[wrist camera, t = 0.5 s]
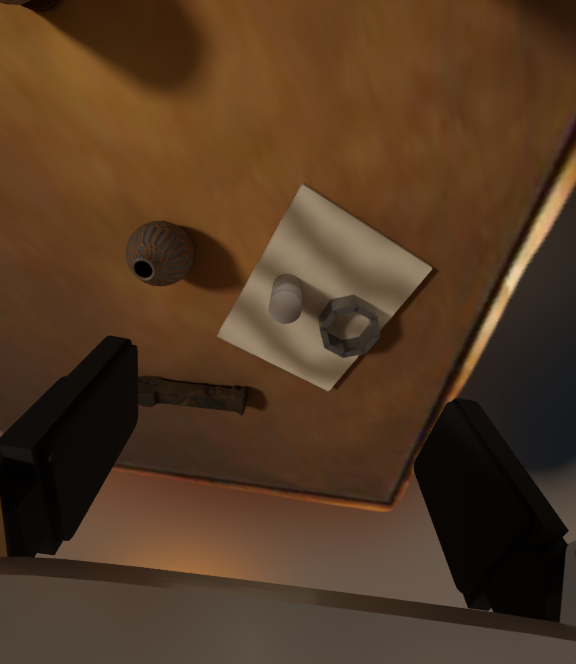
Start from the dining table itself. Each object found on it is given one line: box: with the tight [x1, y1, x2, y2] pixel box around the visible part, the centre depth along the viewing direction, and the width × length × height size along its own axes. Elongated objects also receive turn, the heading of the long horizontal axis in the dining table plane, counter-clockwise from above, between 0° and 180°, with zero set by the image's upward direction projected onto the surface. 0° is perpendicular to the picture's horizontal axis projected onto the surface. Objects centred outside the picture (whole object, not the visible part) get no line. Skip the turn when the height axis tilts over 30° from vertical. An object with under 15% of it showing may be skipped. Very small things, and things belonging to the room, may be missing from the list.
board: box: [217, 183, 433, 391], centre depth 41 cm, size 22×18×8 cm
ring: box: [318, 295, 380, 358], centre depth 43 cm, size 7×7×3 cm
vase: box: [126, 221, 194, 286], centre depth 38 cm, size 7×7×9 cm
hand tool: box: [138, 376, 247, 416], centre depth 51 cm, size 19×4×5 cm, turn 80°
